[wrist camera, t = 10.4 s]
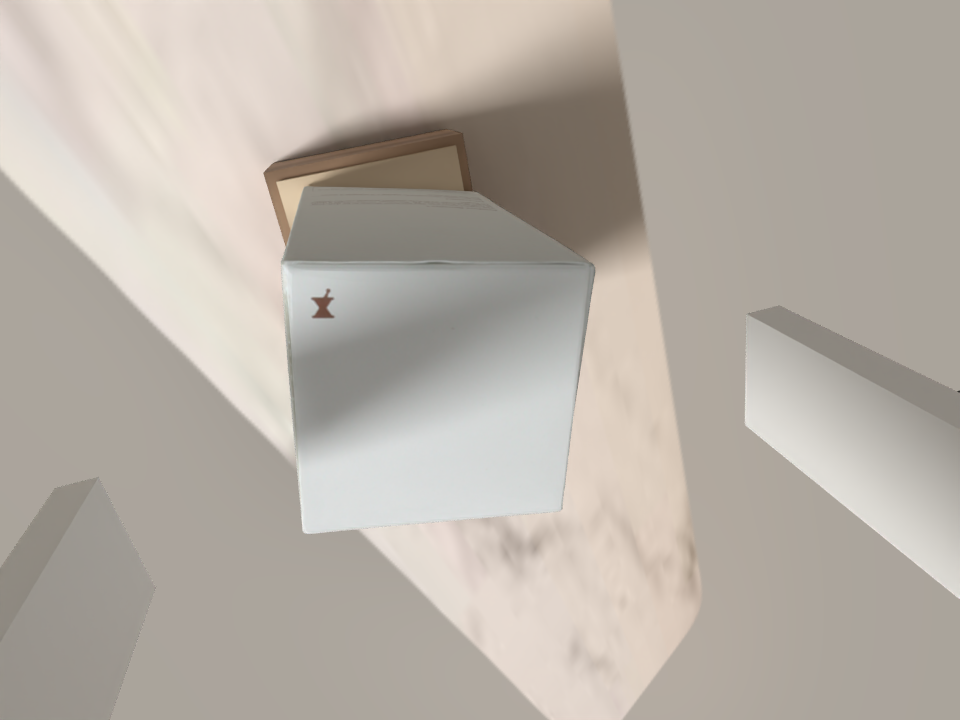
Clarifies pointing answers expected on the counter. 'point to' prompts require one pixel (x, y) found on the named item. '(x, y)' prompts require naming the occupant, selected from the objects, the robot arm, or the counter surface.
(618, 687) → the counter surface
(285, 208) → the brown wooden block
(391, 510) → the supplement box
